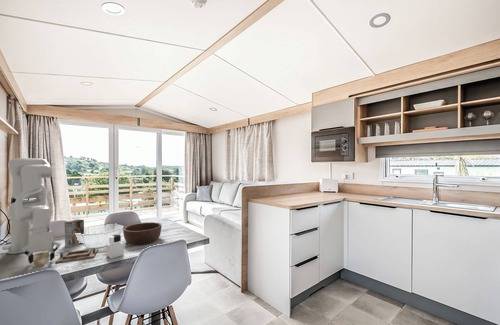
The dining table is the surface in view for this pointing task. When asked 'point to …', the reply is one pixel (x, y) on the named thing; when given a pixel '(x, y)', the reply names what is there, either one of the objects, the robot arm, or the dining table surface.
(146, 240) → the wooden bowl
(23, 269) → the dining table surface
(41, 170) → the robot arm
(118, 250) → the medicine bottle
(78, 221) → the coffee box
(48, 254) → the oak key block
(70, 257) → the keyed frame
